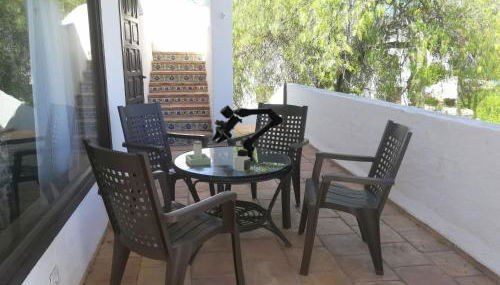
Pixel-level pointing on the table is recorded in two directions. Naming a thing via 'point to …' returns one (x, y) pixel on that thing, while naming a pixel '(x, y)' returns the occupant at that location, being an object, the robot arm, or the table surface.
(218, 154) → the table surface
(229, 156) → the table surface
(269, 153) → the table surface
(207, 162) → the tote
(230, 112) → the robot arm
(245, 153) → the medicine bottle
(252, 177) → the table surface
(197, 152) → the canister
